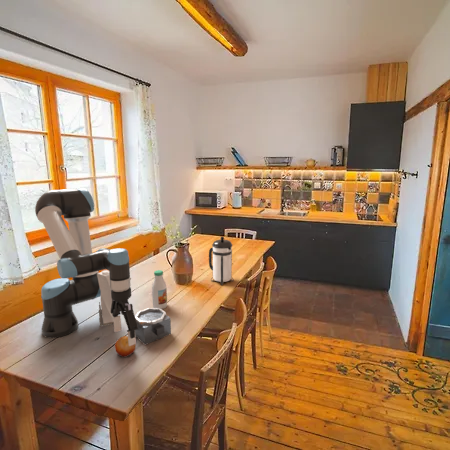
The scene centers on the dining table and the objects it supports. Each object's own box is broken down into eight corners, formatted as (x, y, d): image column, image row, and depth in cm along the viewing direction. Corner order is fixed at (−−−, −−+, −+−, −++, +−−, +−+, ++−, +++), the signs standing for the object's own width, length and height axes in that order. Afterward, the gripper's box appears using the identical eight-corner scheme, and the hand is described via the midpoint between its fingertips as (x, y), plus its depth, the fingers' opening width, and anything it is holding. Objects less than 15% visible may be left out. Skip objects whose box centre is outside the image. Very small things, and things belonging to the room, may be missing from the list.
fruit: (125, 341, 135) (130, 329, 131) (135, 355, 132) (140, 344, 128) (108, 349, 129) (112, 338, 125) (118, 365, 126) (123, 354, 122)
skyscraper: (99, 317, 157) (95, 265, 150) (116, 314, 160) (113, 264, 152) (99, 326, 150) (94, 273, 142) (117, 323, 152) (113, 270, 145)
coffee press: (234, 276, 213) (234, 233, 206) (232, 286, 197) (233, 239, 191) (209, 275, 214) (208, 233, 208) (205, 284, 199) (205, 239, 192)
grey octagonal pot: (147, 347, 133) (146, 327, 131) (131, 332, 144) (130, 314, 143) (173, 336, 142) (173, 317, 140) (156, 322, 153) (156, 305, 151)
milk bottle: (153, 310, 165) (151, 274, 161) (152, 303, 173) (150, 269, 168) (167, 308, 167) (166, 273, 163) (166, 302, 175) (165, 268, 170)
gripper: (144, 295, 116) (147, 347, 120) (117, 277, 134) (121, 322, 139) (125, 301, 111) (129, 354, 115) (99, 281, 130) (104, 328, 134)
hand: (124, 337), depth 127 cm, fingers open, 13 cm apart
